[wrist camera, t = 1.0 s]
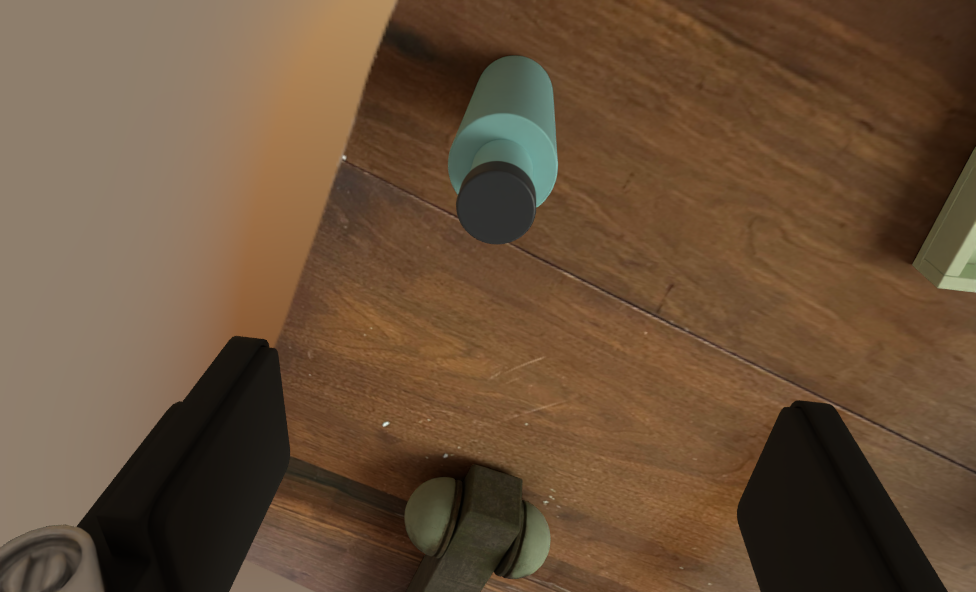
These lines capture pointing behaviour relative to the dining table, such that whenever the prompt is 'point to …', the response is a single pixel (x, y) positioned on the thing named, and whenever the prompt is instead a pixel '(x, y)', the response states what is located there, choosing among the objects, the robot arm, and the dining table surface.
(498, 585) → the dining table surface
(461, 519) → the post
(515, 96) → the bottle
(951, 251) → the tray
